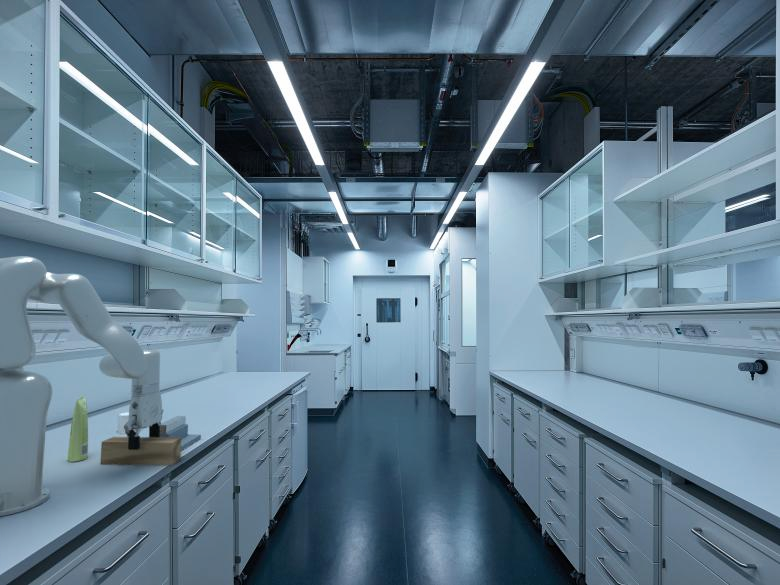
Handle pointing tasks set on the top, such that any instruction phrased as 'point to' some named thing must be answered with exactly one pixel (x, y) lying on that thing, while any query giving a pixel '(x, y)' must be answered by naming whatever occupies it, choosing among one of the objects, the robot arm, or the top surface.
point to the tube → (79, 432)
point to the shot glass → (122, 422)
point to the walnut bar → (141, 451)
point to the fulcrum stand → (178, 431)
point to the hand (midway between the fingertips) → (144, 443)
